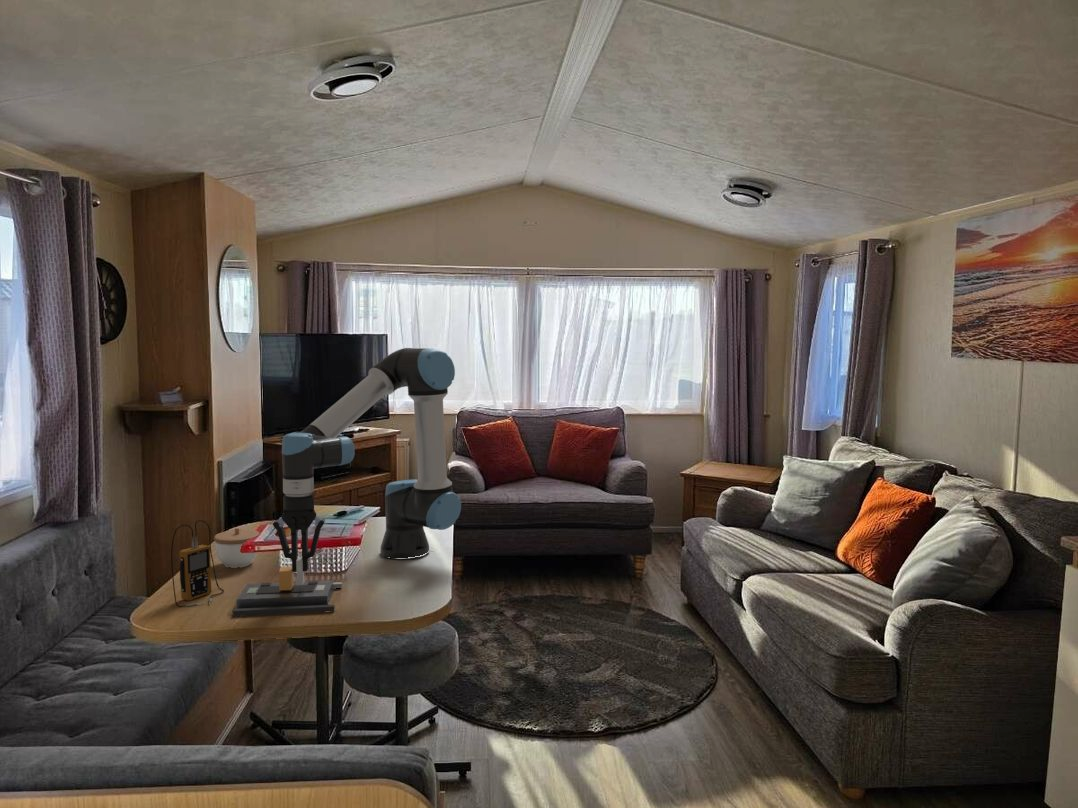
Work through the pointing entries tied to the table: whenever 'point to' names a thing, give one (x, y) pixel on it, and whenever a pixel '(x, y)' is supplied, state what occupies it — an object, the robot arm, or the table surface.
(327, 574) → the table surface
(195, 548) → the multimeter
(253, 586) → the grey control panel
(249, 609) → the dark grey bar
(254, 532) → the lidded bowl
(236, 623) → the table surface
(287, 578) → the orange rectangular block
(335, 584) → the light grey rod
